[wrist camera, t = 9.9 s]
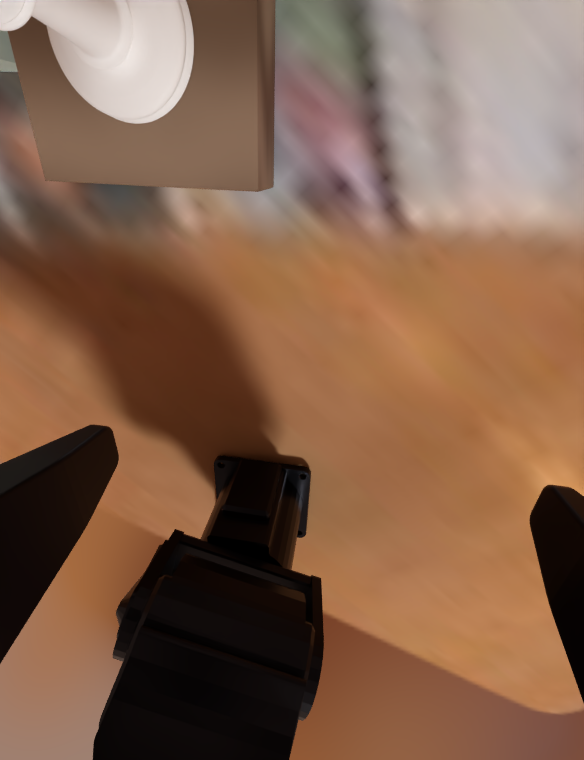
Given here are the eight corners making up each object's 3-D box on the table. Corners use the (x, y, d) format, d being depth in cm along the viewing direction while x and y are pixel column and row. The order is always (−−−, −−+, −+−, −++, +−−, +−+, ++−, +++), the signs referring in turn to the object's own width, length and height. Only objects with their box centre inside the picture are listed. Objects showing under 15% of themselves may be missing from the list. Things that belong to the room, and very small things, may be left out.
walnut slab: (273, 187, 17) (258, 191, 15) (89, 178, 18) (45, 180, 16) (276, -112, 13) (255, -181, 10) (33, -102, 14) (-42, -161, 11)
